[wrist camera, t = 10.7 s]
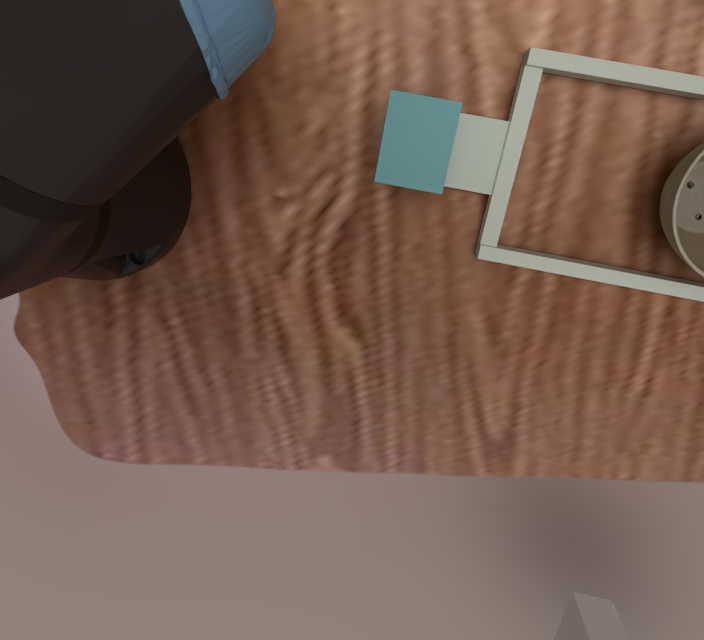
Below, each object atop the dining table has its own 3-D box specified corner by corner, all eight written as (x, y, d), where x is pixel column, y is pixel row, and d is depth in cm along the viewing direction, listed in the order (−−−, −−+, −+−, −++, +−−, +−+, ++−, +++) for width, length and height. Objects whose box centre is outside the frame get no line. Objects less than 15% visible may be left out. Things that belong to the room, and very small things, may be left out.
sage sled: (371, 233, 41) (360, 256, 33) (408, 32, 37) (407, -2, 28) (740, 303, 40) (830, 347, 31) (826, 104, 35) (958, 91, 27)
